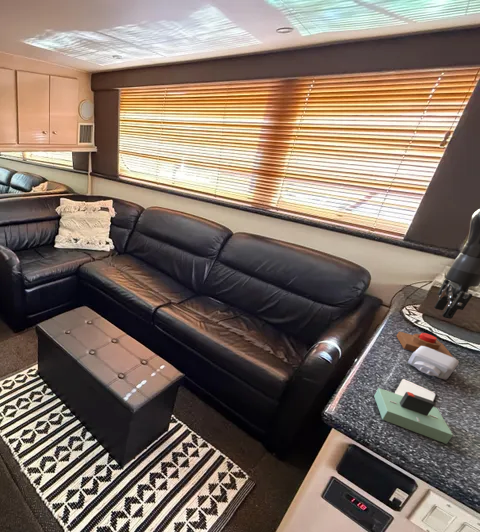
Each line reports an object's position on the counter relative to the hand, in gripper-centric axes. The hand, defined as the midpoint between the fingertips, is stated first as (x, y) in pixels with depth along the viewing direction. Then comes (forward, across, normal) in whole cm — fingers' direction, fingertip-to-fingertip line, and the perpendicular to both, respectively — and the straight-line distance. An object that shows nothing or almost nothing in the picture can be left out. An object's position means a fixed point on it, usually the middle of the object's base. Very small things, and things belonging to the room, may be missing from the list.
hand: (442, 313), depth 109 cm
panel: (+15, -49, +15) cm, 53 cm away
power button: (+11, 0, 0) cm, 11 cm away
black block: (+12, -49, +15) cm, 53 cm away
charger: (+15, -17, +3) cm, 23 cm away
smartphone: (+15, -36, +11) cm, 41 cm away
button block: (+15, 0, 0) cm, 15 cm away
